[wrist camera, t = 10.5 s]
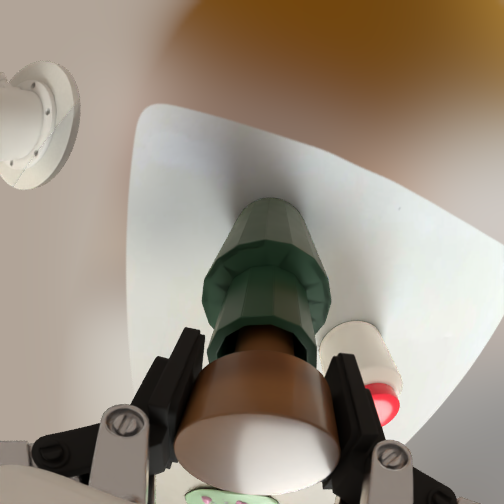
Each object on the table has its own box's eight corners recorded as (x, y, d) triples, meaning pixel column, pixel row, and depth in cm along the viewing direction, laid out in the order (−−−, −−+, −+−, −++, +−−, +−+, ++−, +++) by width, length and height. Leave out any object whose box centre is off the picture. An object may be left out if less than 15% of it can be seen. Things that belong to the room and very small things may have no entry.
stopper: (195, 318, 14) (140, 438, 7) (280, 265, 12) (283, 384, 6) (253, 383, 14) (239, 504, 8) (335, 341, 13) (365, 468, 7)
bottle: (222, 223, 30) (142, 337, 11) (279, 183, 29) (288, 243, 10) (262, 276, 32) (244, 434, 13) (317, 240, 30) (376, 374, 11)
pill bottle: (341, 310, 32) (365, 375, 22) (393, 333, 33) (426, 394, 22) (307, 361, 35) (315, 430, 24) (358, 378, 35) (376, 443, 25)
